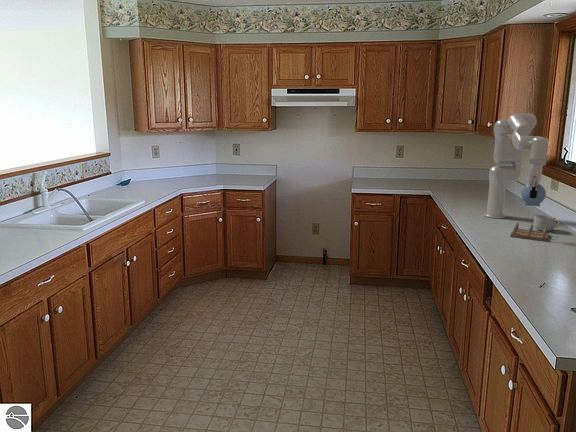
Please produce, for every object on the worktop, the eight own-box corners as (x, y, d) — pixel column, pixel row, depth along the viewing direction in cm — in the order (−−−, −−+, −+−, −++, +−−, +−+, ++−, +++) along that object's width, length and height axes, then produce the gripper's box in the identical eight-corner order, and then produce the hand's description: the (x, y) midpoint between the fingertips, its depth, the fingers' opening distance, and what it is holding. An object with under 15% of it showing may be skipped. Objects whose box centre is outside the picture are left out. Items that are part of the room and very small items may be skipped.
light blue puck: (521, 203, 257) (523, 182, 254) (544, 206, 251) (547, 184, 248) (520, 204, 255) (522, 182, 252) (543, 207, 249) (546, 184, 246)
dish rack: (514, 230, 269) (515, 221, 268) (548, 235, 261) (549, 226, 260) (510, 236, 257) (511, 227, 256) (546, 241, 248) (547, 232, 247)
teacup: (528, 228, 275) (530, 214, 273) (542, 226, 278) (544, 213, 276) (549, 234, 262) (551, 220, 260) (563, 232, 266) (565, 218, 264)
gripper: (531, 160, 256) (526, 194, 260) (527, 163, 243) (523, 199, 247) (547, 161, 252) (542, 196, 257) (544, 164, 239) (539, 200, 243)
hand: (533, 197), depth 252 cm, fingers closed on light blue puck, 2 cm apart
